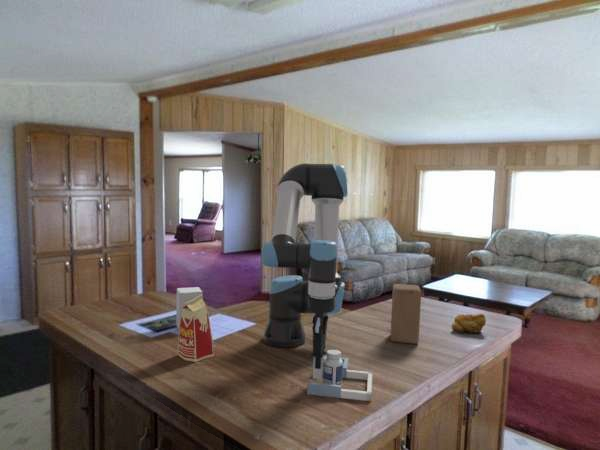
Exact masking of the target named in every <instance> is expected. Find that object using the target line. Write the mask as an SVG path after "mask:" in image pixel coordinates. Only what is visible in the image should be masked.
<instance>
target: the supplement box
mask: <svg viewBox="0 0 600 450" xmlns="http://www.w3.org/2000/svg"><path fill="white" fill-rule="evenodd" d="M203 293H204V292H203V290H201V287H199V286H195V287H194V286H193V287H177V288H176V302H175V303H176V310H175V311H176V313H175V314H176V318H175V319H176V321H175V326H176V328H177V330H178V331H179V328H180V321H181V315H182V309H183V307H185V306H186V305H185V303H186V302H189V301H191V300H193V299H195V298H196V297H198V296H199V295H201V294H202V299H203V296H204V295H203Z"/></svg>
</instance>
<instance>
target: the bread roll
mask: <svg viewBox="0 0 600 450" xmlns="http://www.w3.org/2000/svg"><path fill="white" fill-rule="evenodd" d="M486 323H487V320H486V316H485V315H484V314H483V313H476V314H471V313H470V314H469V313H466V314H457V315H456V316H455V317H454V322H453V323H452V324H451V329H452V331H453V332H457V333H462V334H464V333H468V334H472V335H473V334H478V333H481V331H482V330H483V327H485V326H486Z"/></svg>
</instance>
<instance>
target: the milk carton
mask: <svg viewBox="0 0 600 450" xmlns="http://www.w3.org/2000/svg"><path fill="white" fill-rule="evenodd" d="M185 305H186V306H185V307H183V309H182V315H181V321H180V328H179V330H178V339H177V355H178V357H180V358H182V359H183V360H184V361H188V362H193V363H194V362H195V363H197V362H199V361H200V362H201V360H205V359H209V358H212V357H215V352H214V341H213V340H214V339H213V332H212V327H211V321H210V318H209V316H210V315H209V312H208V309H207V305H206V303H205V301H204V300H203V299H202V294H201V295H199V296H198V297H196V298H195V299H193V300H191V301H189V302H186V303H185Z"/></svg>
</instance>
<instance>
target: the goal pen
mask: <svg viewBox="0 0 600 450" xmlns="http://www.w3.org/2000/svg"><path fill="white" fill-rule="evenodd" d="M346 372H347V374H346V375H345V377H346V379H353V380H363V381H364V380H366V381H367V384H366V388H367V389H366V391H365V390H356V389H346V388H341V398H340V399H346V400H347V399H348V400H355V401H367V402H372V390H373V389H372V388H373V371H364V370H363V371H362V370H361V371H360V370H352V369H348V370H347V371H345V373H346Z"/></svg>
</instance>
